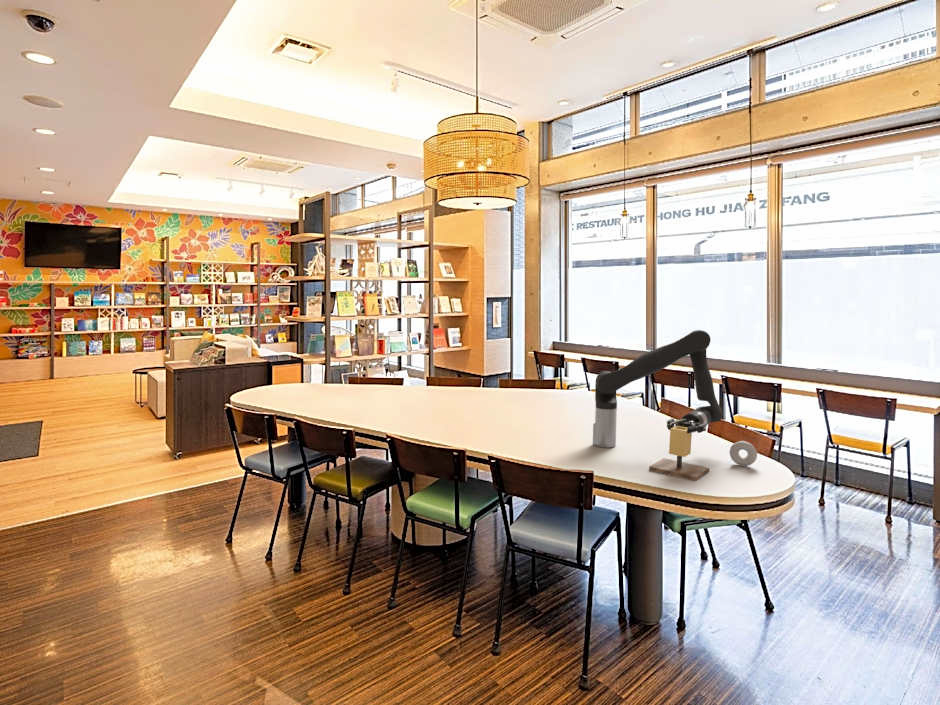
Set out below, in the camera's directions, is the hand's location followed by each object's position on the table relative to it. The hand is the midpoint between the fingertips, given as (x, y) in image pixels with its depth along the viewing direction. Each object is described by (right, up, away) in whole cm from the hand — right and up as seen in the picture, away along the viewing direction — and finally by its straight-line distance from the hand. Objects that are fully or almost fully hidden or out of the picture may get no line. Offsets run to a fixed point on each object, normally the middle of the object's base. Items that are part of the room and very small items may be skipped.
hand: (678, 429), depth 213 cm
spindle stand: (+1, -17, +4) cm, 17 cm away
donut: (+29, -16, +10) cm, 35 cm away
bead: (+1, -10, +3) cm, 10 cm away
